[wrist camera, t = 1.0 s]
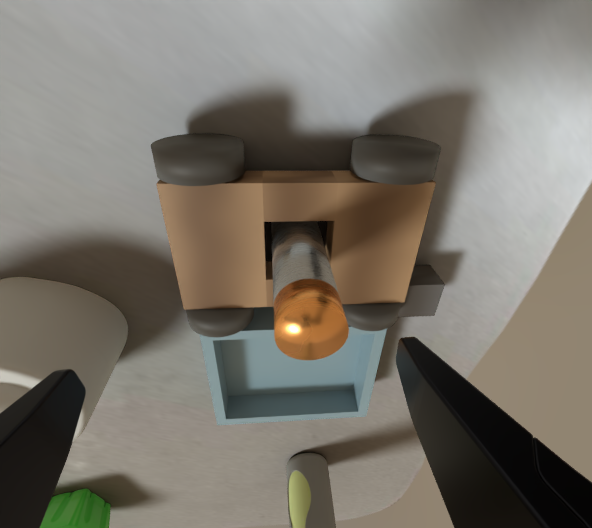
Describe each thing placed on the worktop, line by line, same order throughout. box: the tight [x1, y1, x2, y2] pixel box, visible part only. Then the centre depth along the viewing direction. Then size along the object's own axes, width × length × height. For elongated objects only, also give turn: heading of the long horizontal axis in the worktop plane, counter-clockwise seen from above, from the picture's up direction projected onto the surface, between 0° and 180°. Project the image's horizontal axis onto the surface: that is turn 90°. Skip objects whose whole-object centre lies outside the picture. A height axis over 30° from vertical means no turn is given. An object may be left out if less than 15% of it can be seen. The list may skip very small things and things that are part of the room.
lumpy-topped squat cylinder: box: [0, 277, 128, 443], centre depth 21 cm, size 10×13×9 cm
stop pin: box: [271, 221, 349, 360], centre depth 17 cm, size 3×3×10 cm
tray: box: [200, 307, 387, 425], centre depth 27 cm, size 13×11×3 cm
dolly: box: [151, 134, 445, 337], centre depth 20 cm, size 17×12×4 cm
